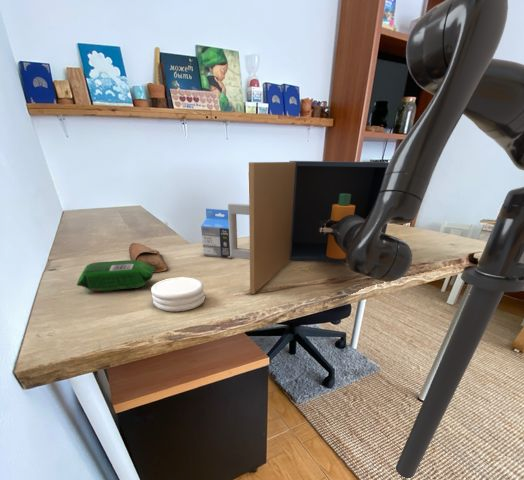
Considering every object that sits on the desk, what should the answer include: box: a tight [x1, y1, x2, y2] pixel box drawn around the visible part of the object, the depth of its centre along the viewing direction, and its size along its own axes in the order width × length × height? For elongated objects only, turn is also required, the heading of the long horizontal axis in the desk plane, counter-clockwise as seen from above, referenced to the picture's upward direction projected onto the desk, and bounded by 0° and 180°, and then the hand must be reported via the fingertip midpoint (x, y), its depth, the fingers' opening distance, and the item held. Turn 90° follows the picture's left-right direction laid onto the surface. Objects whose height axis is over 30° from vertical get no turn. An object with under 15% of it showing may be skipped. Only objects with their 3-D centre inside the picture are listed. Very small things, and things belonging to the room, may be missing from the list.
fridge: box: [288, 160, 390, 263], centre depth 85 cm, size 18×26×24 cm
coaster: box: [150, 276, 206, 312], centre depth 58 cm, size 10×10×4 cm
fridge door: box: [227, 161, 296, 295], centre depth 67 cm, size 6×26×24 cm, turn 159°
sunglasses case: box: [128, 242, 168, 274], centre depth 79 cm, size 18×7×7 cm, turn 24°
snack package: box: [76, 259, 158, 292], centre depth 64 cm, size 7×16×5 cm, turn 104°
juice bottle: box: [326, 194, 355, 259], centre depth 76 cm, size 6×6×15 cm
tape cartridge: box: [200, 208, 233, 259], centre depth 84 cm, size 9×4×12 cm, turn 72°
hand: (339, 222), depth 78 cm, fingers closed on juice bottle, 5 cm apart
